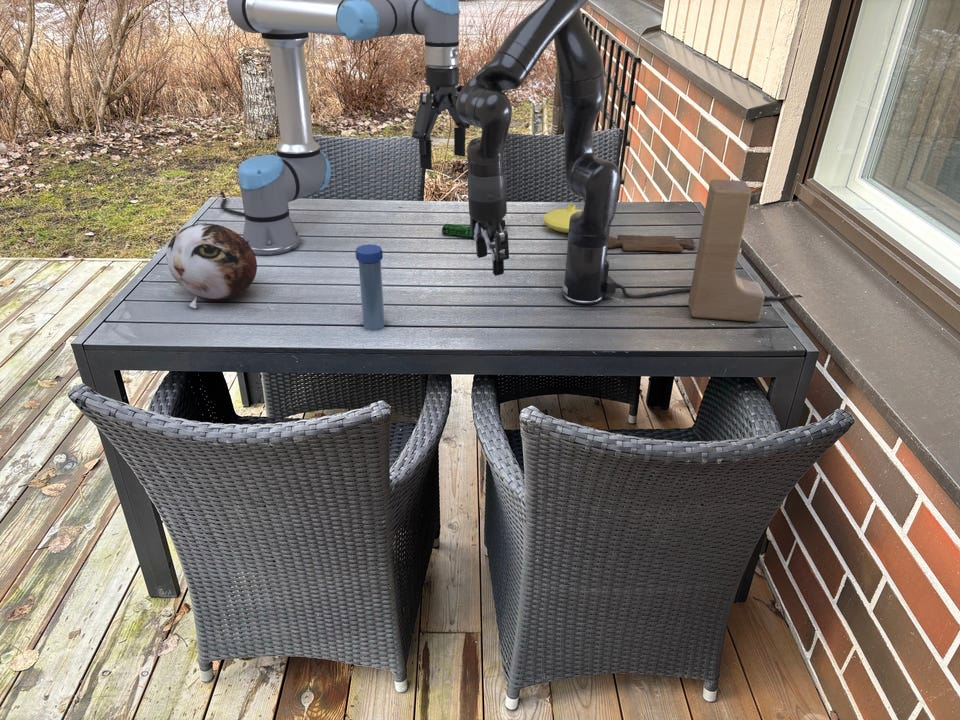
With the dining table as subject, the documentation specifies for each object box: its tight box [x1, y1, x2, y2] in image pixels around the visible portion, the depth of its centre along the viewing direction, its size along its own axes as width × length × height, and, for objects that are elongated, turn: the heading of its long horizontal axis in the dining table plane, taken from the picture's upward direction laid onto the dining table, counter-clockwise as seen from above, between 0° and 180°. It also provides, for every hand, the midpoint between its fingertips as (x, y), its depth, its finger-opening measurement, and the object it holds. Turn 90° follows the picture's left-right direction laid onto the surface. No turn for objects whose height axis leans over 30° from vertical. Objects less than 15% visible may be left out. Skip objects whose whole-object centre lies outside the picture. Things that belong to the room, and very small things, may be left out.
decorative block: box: [687, 178, 765, 323], centre depth 157 cm, size 8×15×30 cm, turn 82°
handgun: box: [441, 218, 506, 239], centre depth 207 cm, size 16×3×15 cm
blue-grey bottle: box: [357, 259, 386, 331], centre depth 153 cm, size 5×5×18 cm
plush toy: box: [165, 222, 258, 309], centre depth 165 cm, size 22×18×20 cm
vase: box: [543, 203, 584, 234], centre depth 209 cm, size 16×16×7 cm
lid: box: [355, 243, 384, 263], centre depth 149 cm, size 6×6×2 cm
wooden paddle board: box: [608, 234, 695, 253], centre depth 200 cm, size 26×2×10 cm
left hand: (443, 161), depth 169 cm, fingers open, 13 cm apart
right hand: (490, 265), depth 150 cm, fingers open, 8 cm apart
